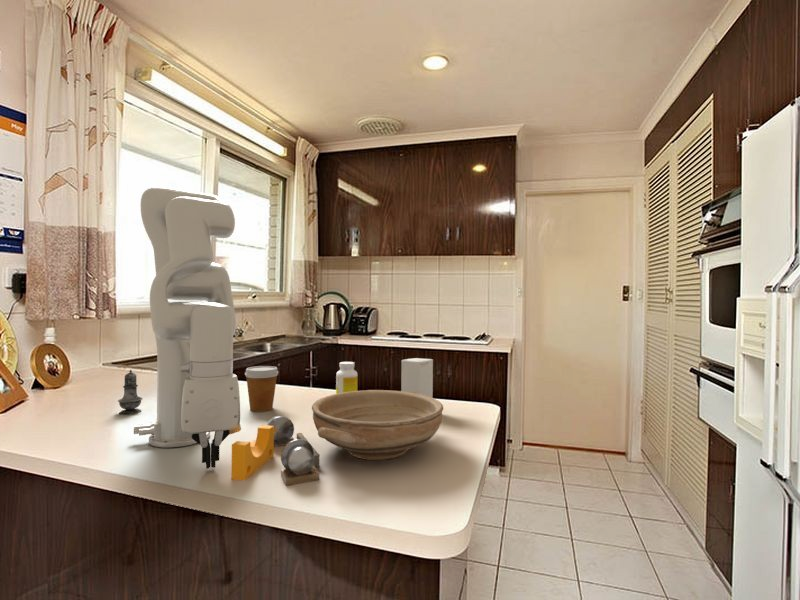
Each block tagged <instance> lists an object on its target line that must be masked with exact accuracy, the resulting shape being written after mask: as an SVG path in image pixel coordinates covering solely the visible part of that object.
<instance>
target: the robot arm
mask: <svg viewBox="0 0 800 600" xmlns="http://www.w3.org/2000/svg"><path fill="white" fill-rule="evenodd" d="M140 215H141V220H142V224H143V227H144V229H145V232H146V234H147V237H148V239H149V241H150V242H151V245H152V249H153V256H154V257H153V258H154V265H155V267H154V268H155V277H154V278H153V281H152V283H151V286H150V287H151V288H150V291H149V306H150V307H149V308H150V319H151V320H150V321H151V327H152V332H153V334H154V336H155V343H156V355H157V357H156V359H157V360H156V362H157V363H156V364H157V365H156V366H157V371H156V372H157V373H156V375H157V380H156V381H157V387H156V418H155V420H154V422H150V424H137V425H135V424H134V425H133V435H138V436H145V435H146V436H147V435H150V436H149V437H148V444H149V445H151V446H153V447H156V448H180V447H181V448H182V447H187V446H191V445H196V444H198V445H200V447H201V463H202V464H205V468H206V469H210V468H212V469H213V468H216V466H217V465H216V462H219V461H220V446H221V444H222V443H223V442H224V440H225V439H227V437H228V436H229V435H230V436H231V435H233V434H236V433H238V432H239V433H240V431H241V430H242V427H241V424H240V423H241V400H240V399H241V398H240V397H241V396H240V386H239V380H238V376H237V375H236V374H235V373H233V371H234V369H233V368H234V335H235V333H236V331H237V330H236V328H237V319H236V317H237V316H236V311H235V305H234V298H233V291H232V286H231V285H232V284H231V279H230V275H229V272H228V271H227V269H226V268H225V266H224V265H221V264H220V263H215V262H214V259H215V258H214V252H213V246H212V240H211V238H219V239H227V238H230V237H231V236H232V235H233V234H234V231H235V228H236V227H235V224H236V221H235V220H236V219H235V218H236V217H235V215H234V212H233V210H232V207H231V205H230V204H228V203H227V202H226V201H225V200H223V198H220V197H219V196H217V195H215V194H211V193H204V192H198V191H193V190H192V191H191V190H186V189H180V188H173V187H166V186H156V187H150V188H147V189H145V191H144V192H143V193H142V195H141V198H140ZM169 300H172V301H173V302H172V301H171V302H170V301H169ZM213 432H214V436H213V439H211V443H210V440H209V437H211V433H213Z"/></svg>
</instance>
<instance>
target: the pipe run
mask: <svg viewBox="0 0 800 600" xmlns="http://www.w3.org/2000/svg"><path fill="white" fill-rule="evenodd" d="M266 424H267V425H268V426H274V447H278V446H284V447H283V448H282V451H281V453H280V462H281V464H282V466H283V467H284V469H283V468H282V469H280V477H281V478H282V481H283V484H284V486H291V485H298V484H303V483H308V482H315V481H319V480H320V472H319V470H318V469H320V454H319V453H318V452H317V450H316V449H315V448H314V447H313V445H312V444H311V443H310V441H308V439H307V437H305V435H304V434H303V433H302V432H298V433H296V439H294V437H293V435H294V432H295V426H294V422H292V420H291V418H289V417H286V416H284V415H283V416H281V415H275V416H273V417H271V418H270V419H269V420H268V422H267V423H266Z"/></svg>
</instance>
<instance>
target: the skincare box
mask: <svg viewBox="0 0 800 600" xmlns="http://www.w3.org/2000/svg"><path fill="white" fill-rule="evenodd" d="M433 369H434V359H432V358H421V357H420V358H418V357H415V358H414V357H413V358H407V359H406V358H405V359H402V360H401V376H400V377H401V378H400V379H401V380H400V381H401V385H400V386H401V390H400V391H403V392H417V393H419V394H421V395H425V396H428V397H431V398H433V392H434V389H433V387H434V385H433V384H434V383H433V382H434V380H433V378H434V372H433V371H434V370H433Z"/></svg>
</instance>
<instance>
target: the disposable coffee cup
mask: <svg viewBox="0 0 800 600" xmlns="http://www.w3.org/2000/svg"><path fill="white" fill-rule="evenodd" d="M279 373H280V372H279V371H278V367H277V366H271V365H257V366H250V367H247V368H246V369H245V372H244V375H245V377H246V385H247V386H246V387H247V394H248V402H249V410H250V411H251V412H255V411H256V413H257V412H258V413H259V412H261V411H262V412H268V411H272V409H273V407H274V402H275V401H274V400H275V393H276V385H277V379H278V377H277V376H278V375H279Z"/></svg>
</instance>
